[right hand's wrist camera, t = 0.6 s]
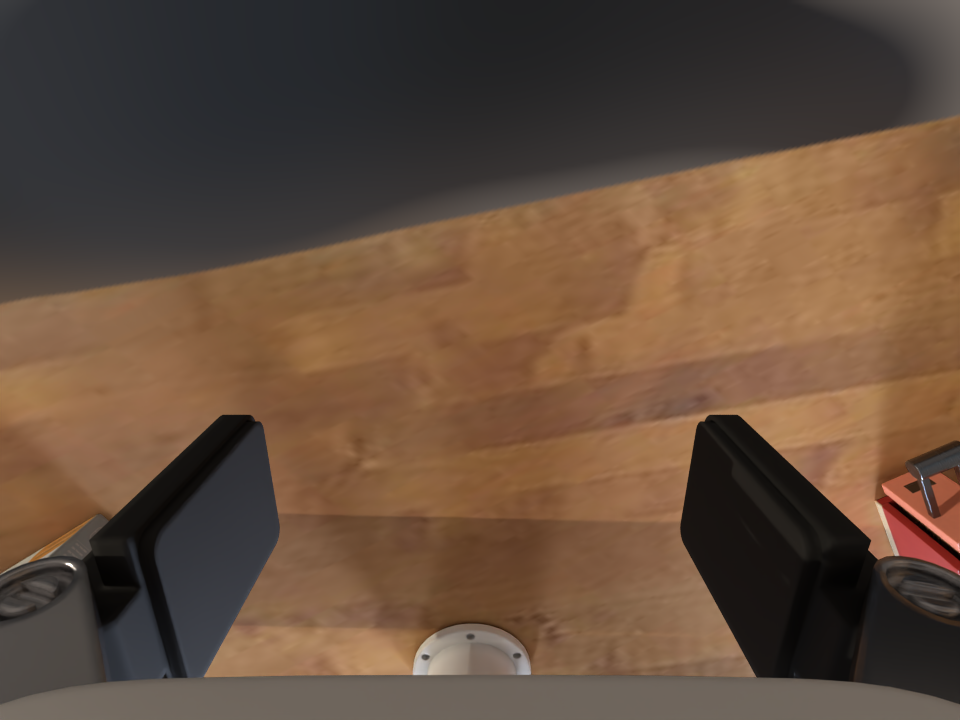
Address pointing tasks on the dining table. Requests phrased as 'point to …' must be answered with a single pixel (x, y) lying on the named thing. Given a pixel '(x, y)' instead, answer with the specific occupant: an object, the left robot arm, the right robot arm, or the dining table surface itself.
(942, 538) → the drawer
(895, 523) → the cabinet
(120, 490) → the dining table surface
